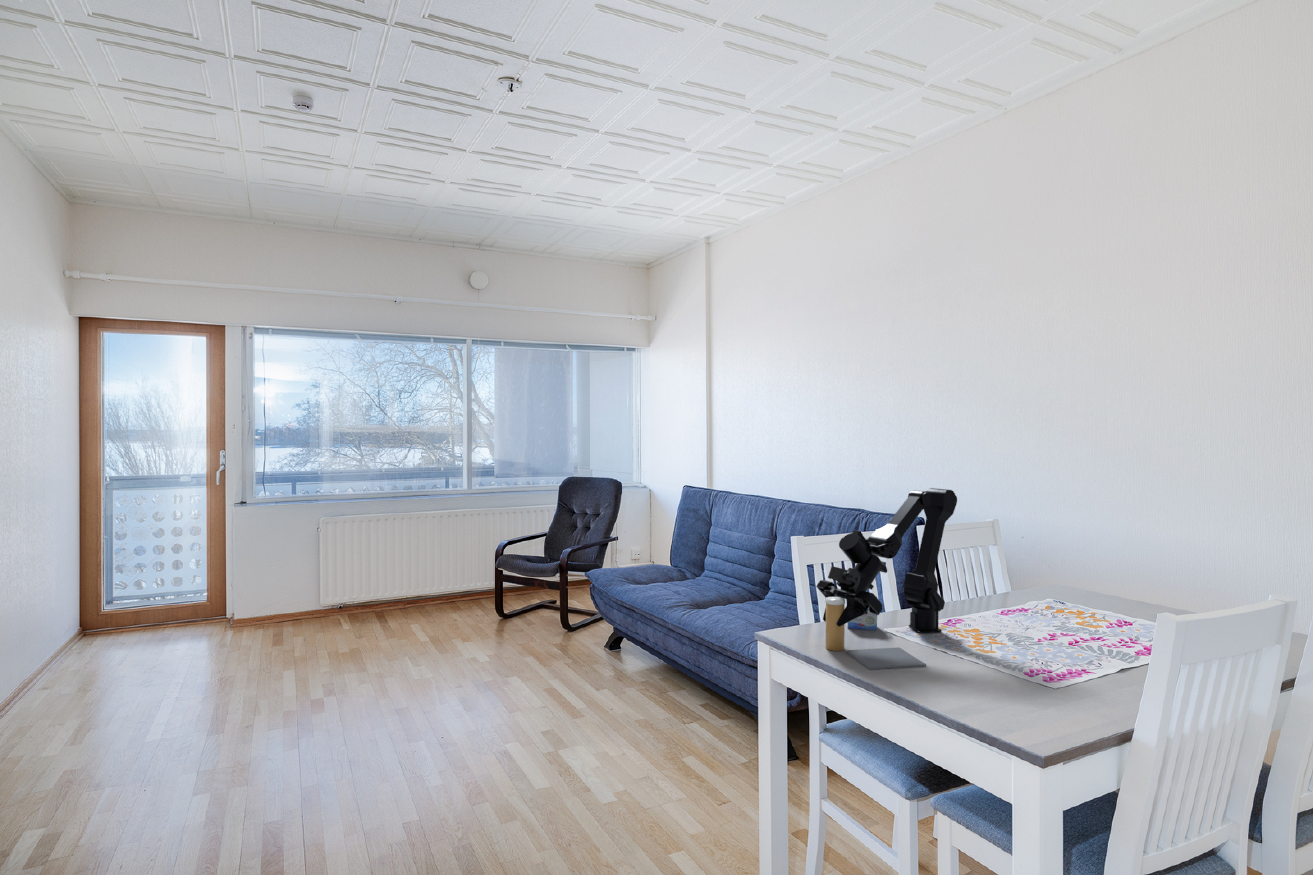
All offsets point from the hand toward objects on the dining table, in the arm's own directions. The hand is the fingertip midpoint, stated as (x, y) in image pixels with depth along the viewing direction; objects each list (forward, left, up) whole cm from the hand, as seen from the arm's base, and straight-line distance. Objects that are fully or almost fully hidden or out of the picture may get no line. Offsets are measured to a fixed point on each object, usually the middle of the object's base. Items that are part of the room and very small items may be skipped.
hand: (830, 623), depth 182 cm
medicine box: (-16, -17, -7) cm, 25 cm away
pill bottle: (-1, 0, -7) cm, 7 cm away
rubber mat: (-10, +10, -7) cm, 15 cm away
